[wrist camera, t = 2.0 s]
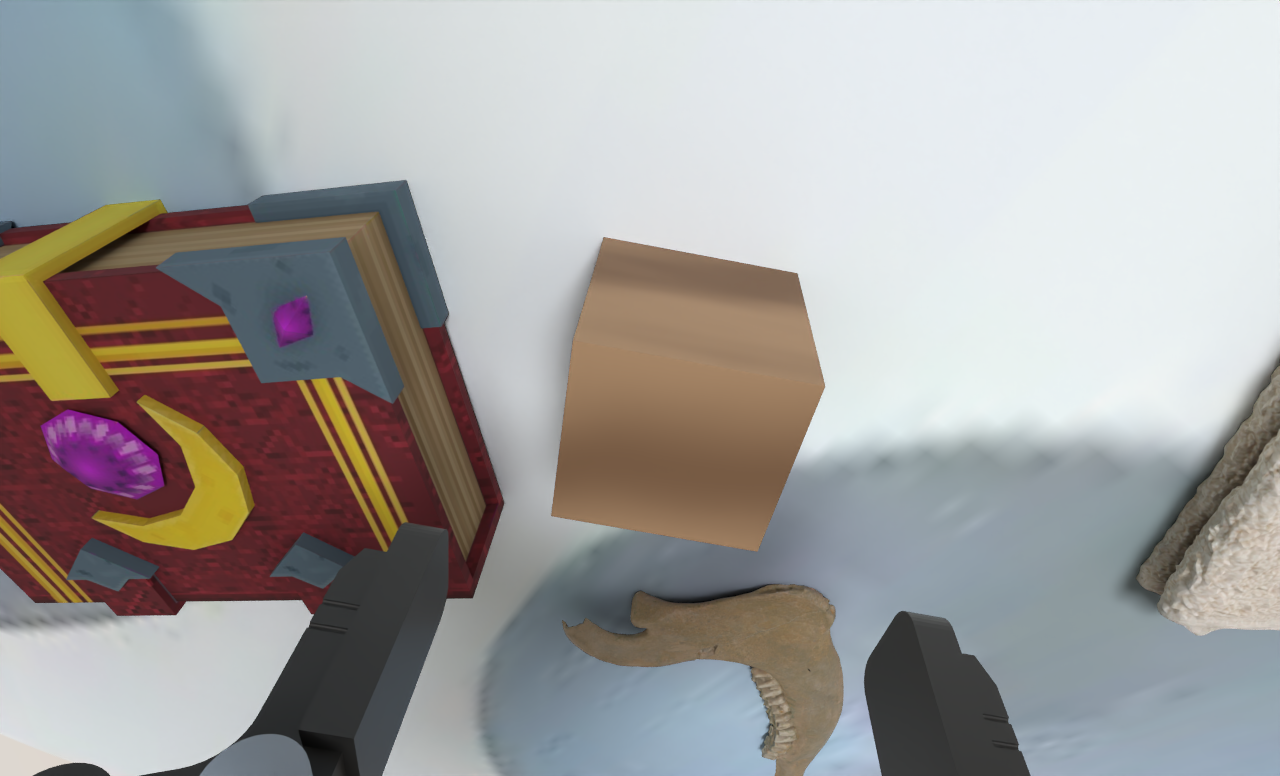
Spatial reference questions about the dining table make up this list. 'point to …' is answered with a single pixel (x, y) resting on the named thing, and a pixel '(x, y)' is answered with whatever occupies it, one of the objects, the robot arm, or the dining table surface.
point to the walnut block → (685, 395)
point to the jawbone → (745, 656)
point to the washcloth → (1227, 536)
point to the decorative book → (230, 402)
